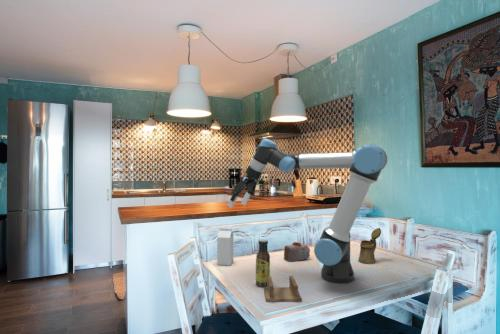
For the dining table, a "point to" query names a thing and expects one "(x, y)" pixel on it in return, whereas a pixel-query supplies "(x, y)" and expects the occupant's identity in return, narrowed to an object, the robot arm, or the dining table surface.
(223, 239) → the milk carton
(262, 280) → the sauce bottle
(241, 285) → the dining table surface
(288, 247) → the food item
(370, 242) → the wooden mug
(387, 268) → the dining table surface
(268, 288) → the walnut slotted rack
